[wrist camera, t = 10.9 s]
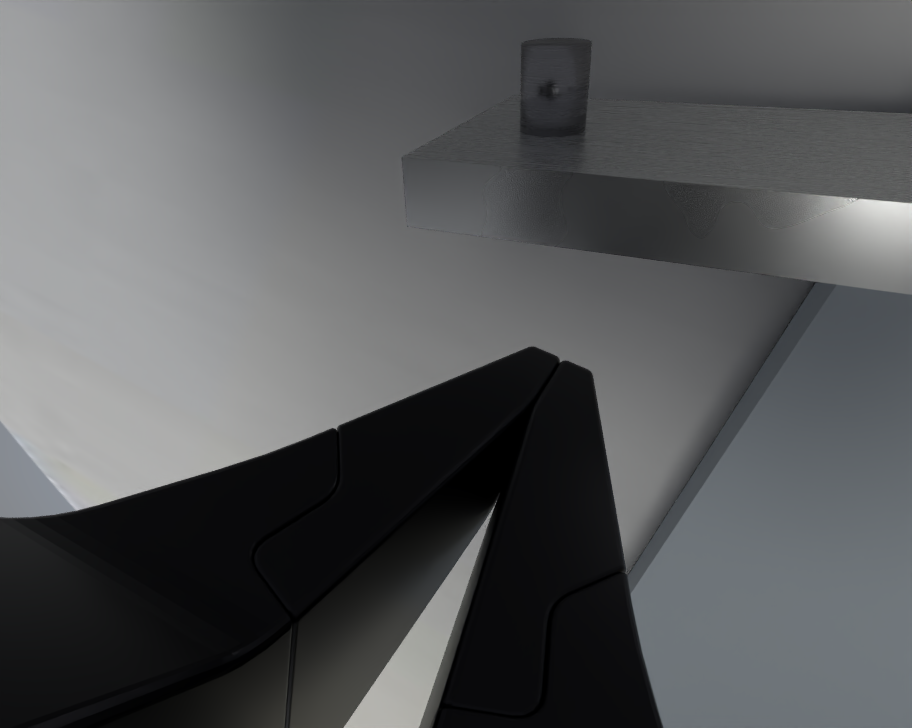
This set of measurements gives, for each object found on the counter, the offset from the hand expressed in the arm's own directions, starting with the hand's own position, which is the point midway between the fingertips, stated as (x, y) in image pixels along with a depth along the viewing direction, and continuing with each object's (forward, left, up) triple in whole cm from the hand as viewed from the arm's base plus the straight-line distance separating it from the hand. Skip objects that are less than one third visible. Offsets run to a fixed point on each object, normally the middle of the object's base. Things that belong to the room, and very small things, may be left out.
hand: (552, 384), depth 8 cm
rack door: (+3, -2, -6) cm, 7 cm away
